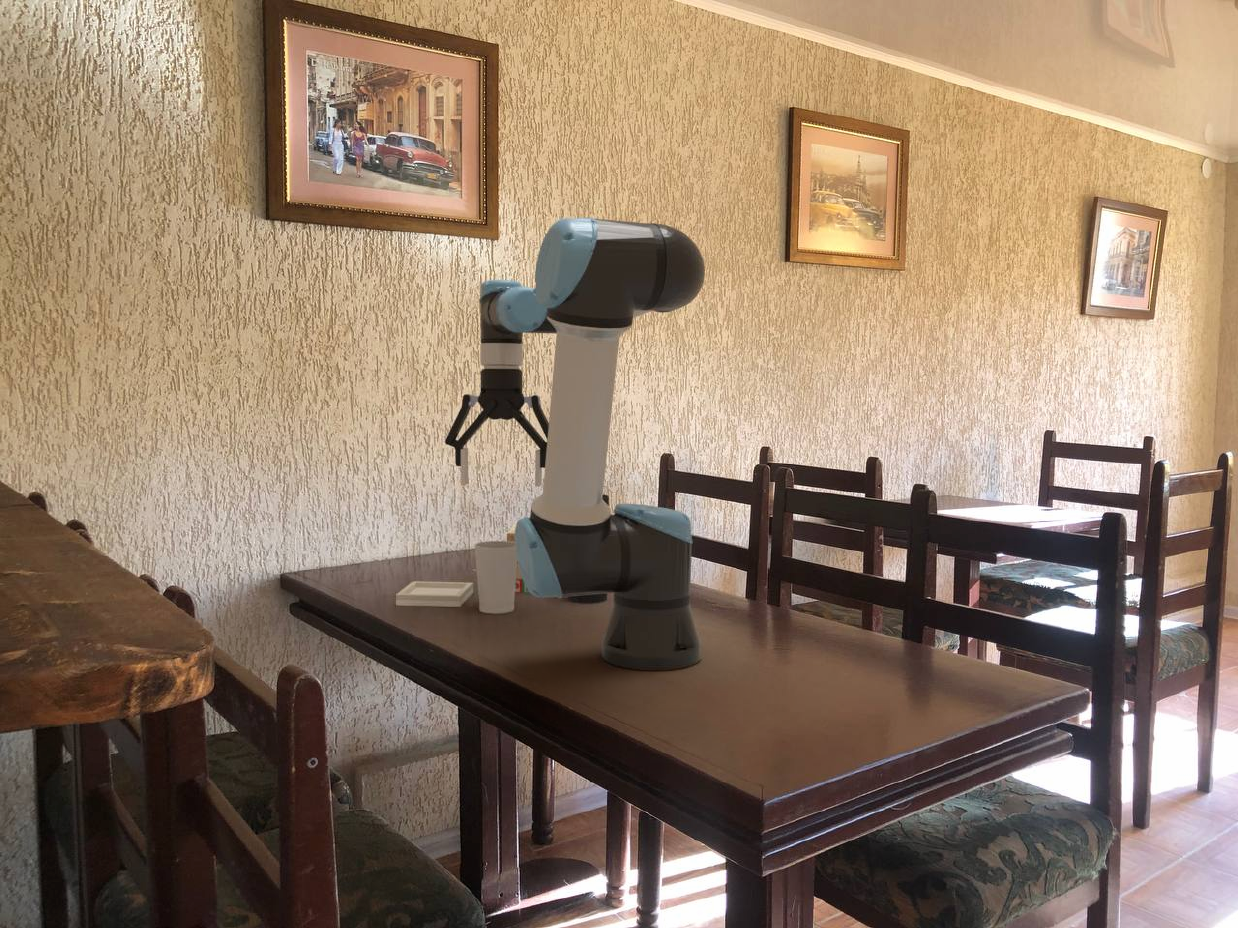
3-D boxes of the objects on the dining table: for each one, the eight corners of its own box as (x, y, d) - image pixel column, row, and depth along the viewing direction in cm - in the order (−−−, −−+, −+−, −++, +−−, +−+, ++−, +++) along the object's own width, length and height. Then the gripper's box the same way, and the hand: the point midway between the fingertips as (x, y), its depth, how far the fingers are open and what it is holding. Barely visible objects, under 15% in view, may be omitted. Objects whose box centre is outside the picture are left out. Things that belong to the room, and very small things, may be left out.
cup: (510, 615, 176) (510, 549, 175) (468, 613, 177) (468, 547, 176) (523, 605, 183) (524, 541, 182) (483, 603, 185) (483, 540, 184)
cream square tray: (460, 606, 182) (460, 596, 182) (395, 605, 182) (395, 594, 182) (473, 592, 194) (473, 582, 193) (413, 591, 194) (413, 581, 194)
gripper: (572, 368, 180) (572, 484, 182) (438, 367, 182) (439, 481, 184) (567, 368, 173) (566, 488, 174) (427, 367, 175) (428, 485, 176)
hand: (501, 485), depth 179 cm, fingers open, 13 cm apart
